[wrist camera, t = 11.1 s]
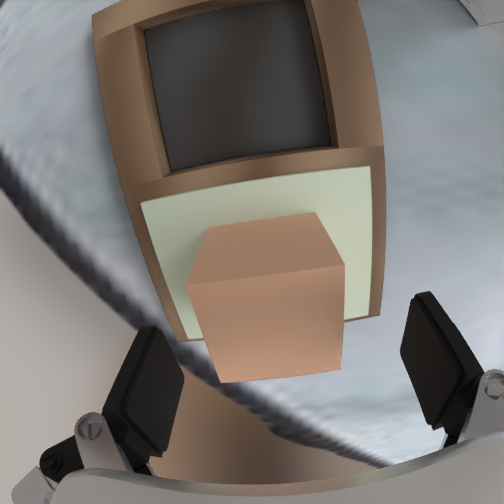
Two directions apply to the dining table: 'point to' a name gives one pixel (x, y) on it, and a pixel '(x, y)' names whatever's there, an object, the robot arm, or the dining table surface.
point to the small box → (485, 10)
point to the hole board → (244, 131)
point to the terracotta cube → (270, 298)
